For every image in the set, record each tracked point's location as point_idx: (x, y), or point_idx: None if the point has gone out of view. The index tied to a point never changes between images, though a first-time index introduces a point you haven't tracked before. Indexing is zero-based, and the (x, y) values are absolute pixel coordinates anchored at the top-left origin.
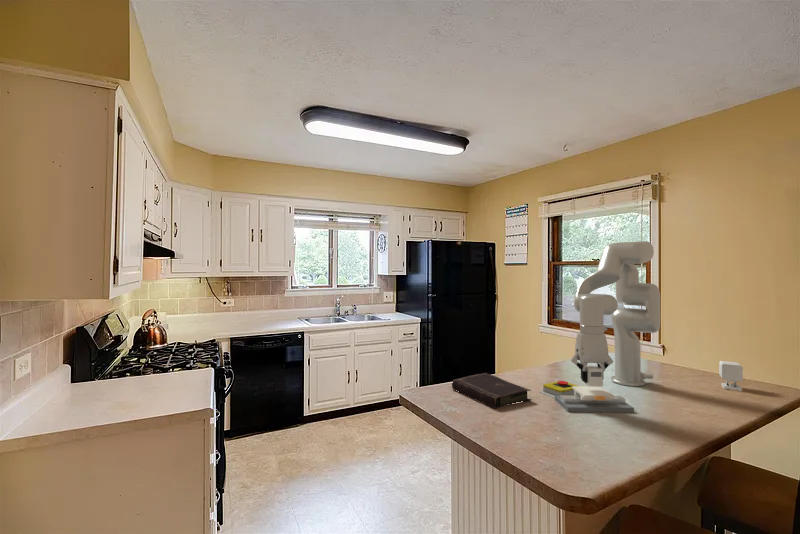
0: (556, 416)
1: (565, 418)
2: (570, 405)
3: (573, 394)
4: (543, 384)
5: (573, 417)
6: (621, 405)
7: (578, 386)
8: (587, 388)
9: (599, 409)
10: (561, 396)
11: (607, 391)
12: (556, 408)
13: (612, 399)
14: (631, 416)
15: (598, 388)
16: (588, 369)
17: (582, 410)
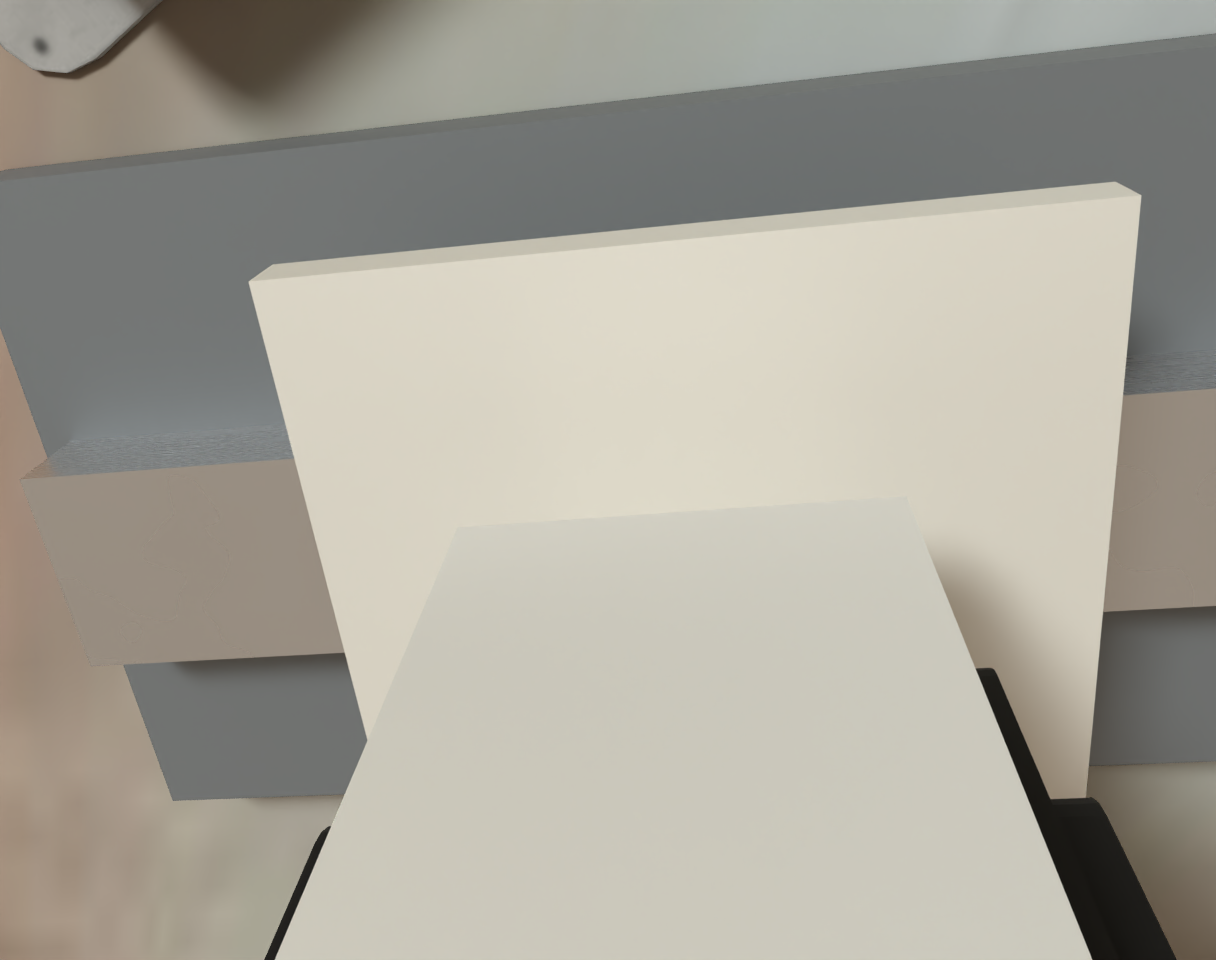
0: (38, 902)
1: (151, 950)
2: (227, 726)
3: None
4: None
5: (259, 919)
6: (1200, 657)
7: (434, 270)
8: (646, 438)
9: None
10: (42, 531)
11: (1094, 638)
12: (39, 632)
13: (1114, 606)
14: (1142, 847)
15: (979, 407)
16: None
17: None
